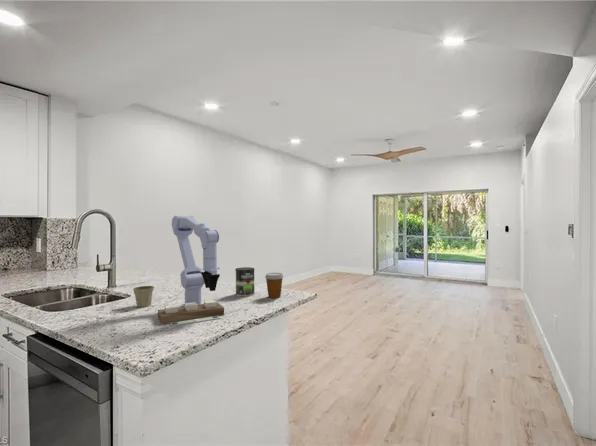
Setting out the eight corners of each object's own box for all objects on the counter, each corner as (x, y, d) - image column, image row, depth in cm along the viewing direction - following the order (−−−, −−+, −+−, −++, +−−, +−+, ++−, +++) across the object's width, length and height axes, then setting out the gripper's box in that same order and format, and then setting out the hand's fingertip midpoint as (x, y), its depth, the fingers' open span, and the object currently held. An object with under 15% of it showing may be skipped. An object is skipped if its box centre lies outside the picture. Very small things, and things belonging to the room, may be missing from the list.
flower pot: (128, 307, 156) (128, 288, 156) (144, 302, 165) (144, 285, 165) (143, 309, 152) (143, 290, 152) (158, 304, 161) (158, 286, 161)
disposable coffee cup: (283, 298, 169) (282, 275, 169) (264, 299, 169) (264, 275, 169) (284, 294, 178) (283, 272, 178) (266, 294, 178) (266, 272, 178)
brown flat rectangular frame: (157, 317, 139) (157, 310, 139) (217, 308, 151) (216, 302, 151) (161, 324, 129) (161, 316, 129) (224, 314, 141) (224, 307, 141)
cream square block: (164, 314, 137) (164, 306, 137) (176, 312, 139) (175, 304, 139) (166, 316, 133) (166, 308, 133) (177, 315, 135) (177, 307, 135)
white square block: (203, 308, 145) (203, 301, 145) (213, 307, 147) (213, 299, 147) (206, 311, 141) (206, 303, 141) (216, 309, 143) (216, 302, 143)
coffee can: (257, 295, 178) (257, 268, 178) (238, 297, 173) (238, 270, 173) (251, 291, 187) (250, 266, 187) (233, 293, 183) (232, 268, 182)
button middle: (184, 311, 141) (184, 303, 141) (195, 309, 143) (195, 302, 143) (186, 313, 137) (186, 305, 137) (197, 312, 139) (197, 304, 139)
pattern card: (169, 323, 130) (169, 322, 130) (217, 316, 139) (217, 315, 139) (171, 326, 126) (171, 325, 126) (220, 318, 136) (220, 317, 136)
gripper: (223, 258, 139) (224, 291, 140) (214, 256, 152) (215, 285, 152) (206, 260, 136) (207, 293, 136) (199, 256, 149) (199, 287, 149)
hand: (210, 289), depth 144 cm, fingers open, 7 cm apart
